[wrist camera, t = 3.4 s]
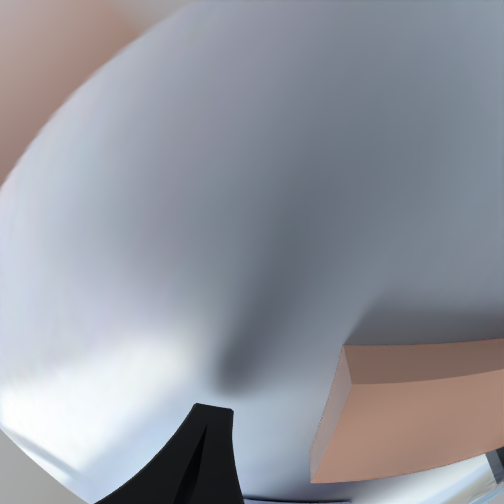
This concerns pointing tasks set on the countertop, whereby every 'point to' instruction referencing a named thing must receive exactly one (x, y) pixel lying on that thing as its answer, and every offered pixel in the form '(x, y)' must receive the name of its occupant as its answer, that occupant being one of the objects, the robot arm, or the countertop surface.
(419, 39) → the countertop surface
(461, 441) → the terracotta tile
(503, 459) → the low gray notched block
